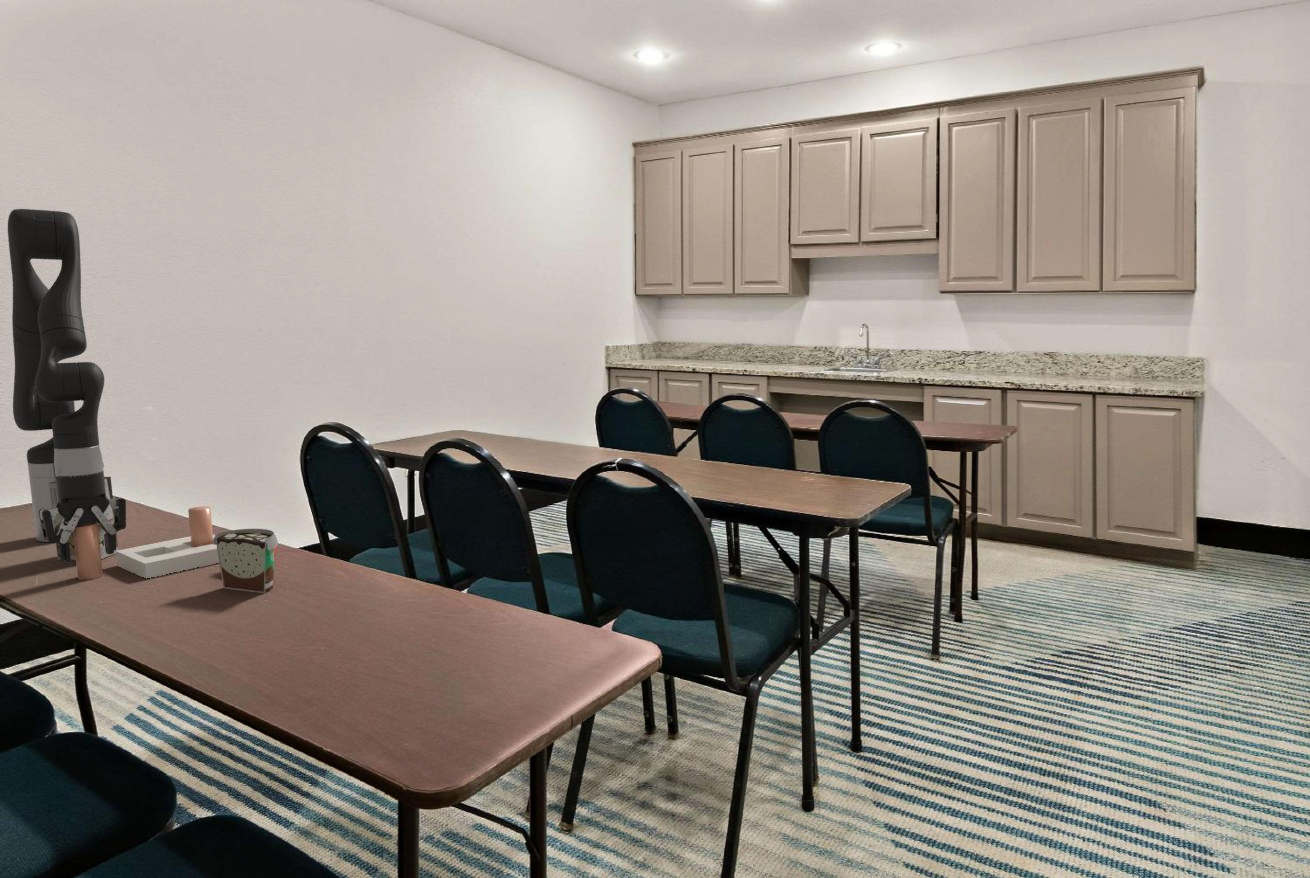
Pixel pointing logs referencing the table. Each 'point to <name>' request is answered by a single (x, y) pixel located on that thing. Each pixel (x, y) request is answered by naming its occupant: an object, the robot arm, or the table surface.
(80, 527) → the pin
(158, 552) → the pin board
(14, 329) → the robot arm
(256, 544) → the food container
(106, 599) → the table surface
